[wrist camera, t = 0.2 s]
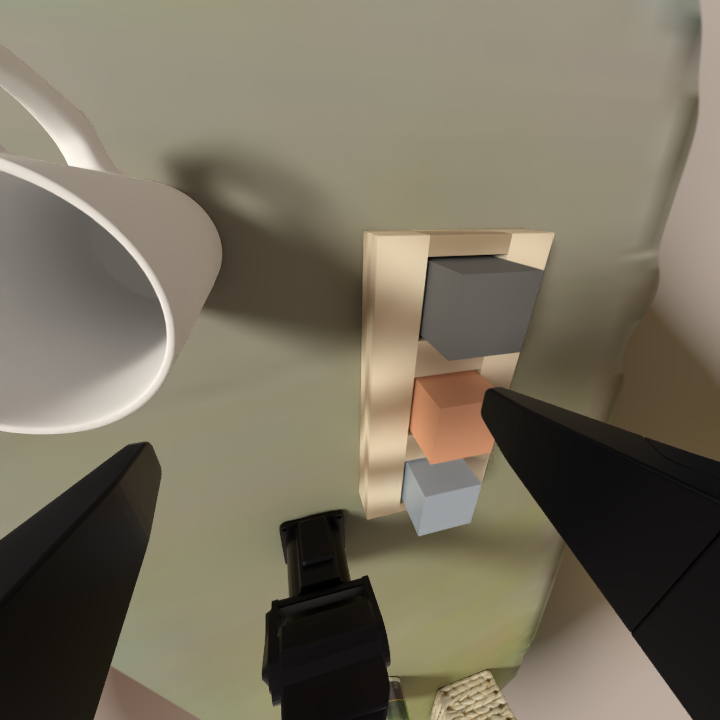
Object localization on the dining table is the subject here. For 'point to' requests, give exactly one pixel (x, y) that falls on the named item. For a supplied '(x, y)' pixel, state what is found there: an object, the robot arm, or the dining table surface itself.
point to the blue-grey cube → (439, 494)
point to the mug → (89, 274)
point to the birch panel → (416, 345)
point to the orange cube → (450, 416)
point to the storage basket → (471, 700)
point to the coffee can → (396, 701)
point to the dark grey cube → (477, 305)
